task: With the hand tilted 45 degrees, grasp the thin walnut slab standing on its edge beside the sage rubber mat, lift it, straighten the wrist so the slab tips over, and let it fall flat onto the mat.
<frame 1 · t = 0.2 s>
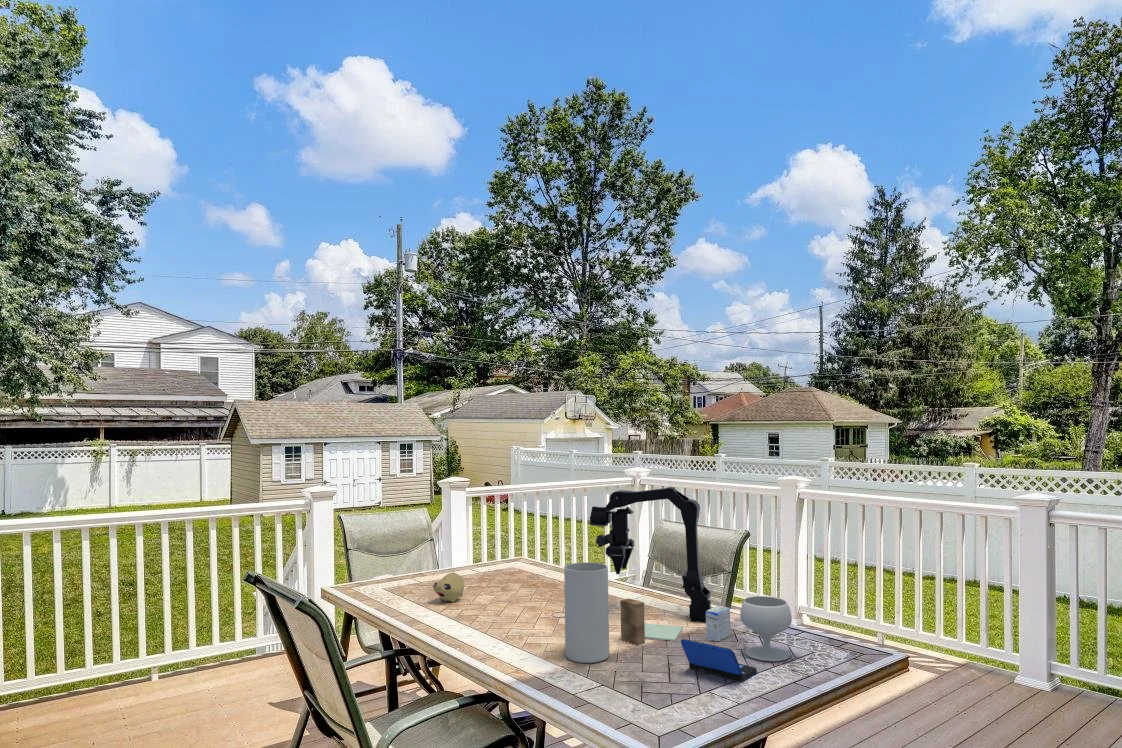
hand: (620, 571, 235), 14 cm above the table, tool pointing down, fingers open, 9 cm apart
cylinder vase: (587, 657, 189), on the table
chalice: (767, 656, 188), on the table
olive toy creature: (448, 602, 252), on the table
medicine box: (718, 638, 205), on the table
mat: (653, 632, 211), on the table
walnut slab: (633, 641, 202), on the table
handheld game console: (719, 674, 175), on the table
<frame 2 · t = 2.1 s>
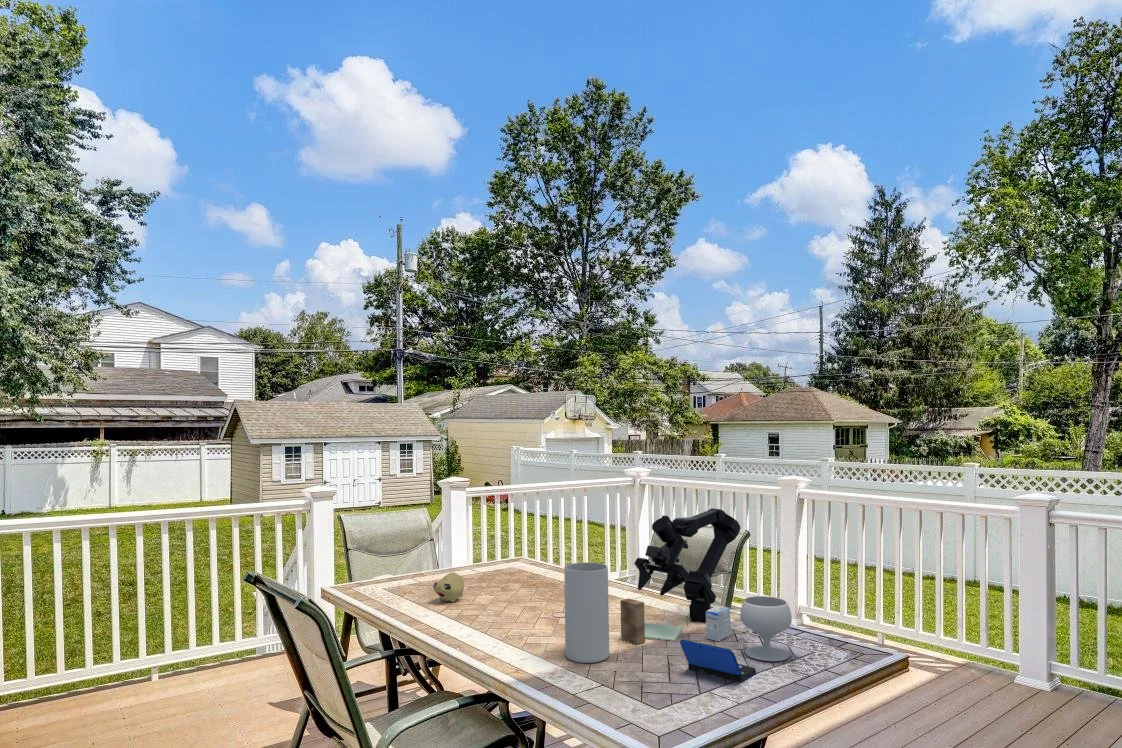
hand: (649, 592, 209), 13 cm above the table, tool tilted 45°, fingers open, 9 cm apart
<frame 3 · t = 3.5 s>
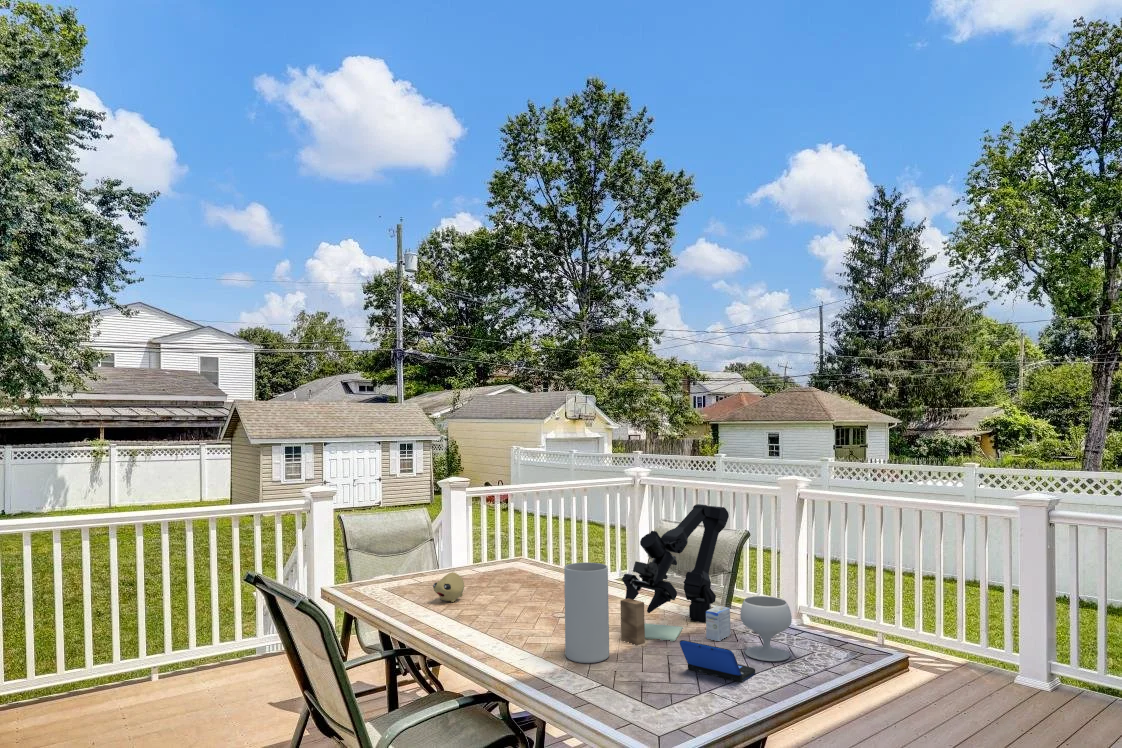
hand: (636, 609, 204), 9 cm above the table, tool tilted 45°, fingers open, 9 cm apart
nothing on the table moved.
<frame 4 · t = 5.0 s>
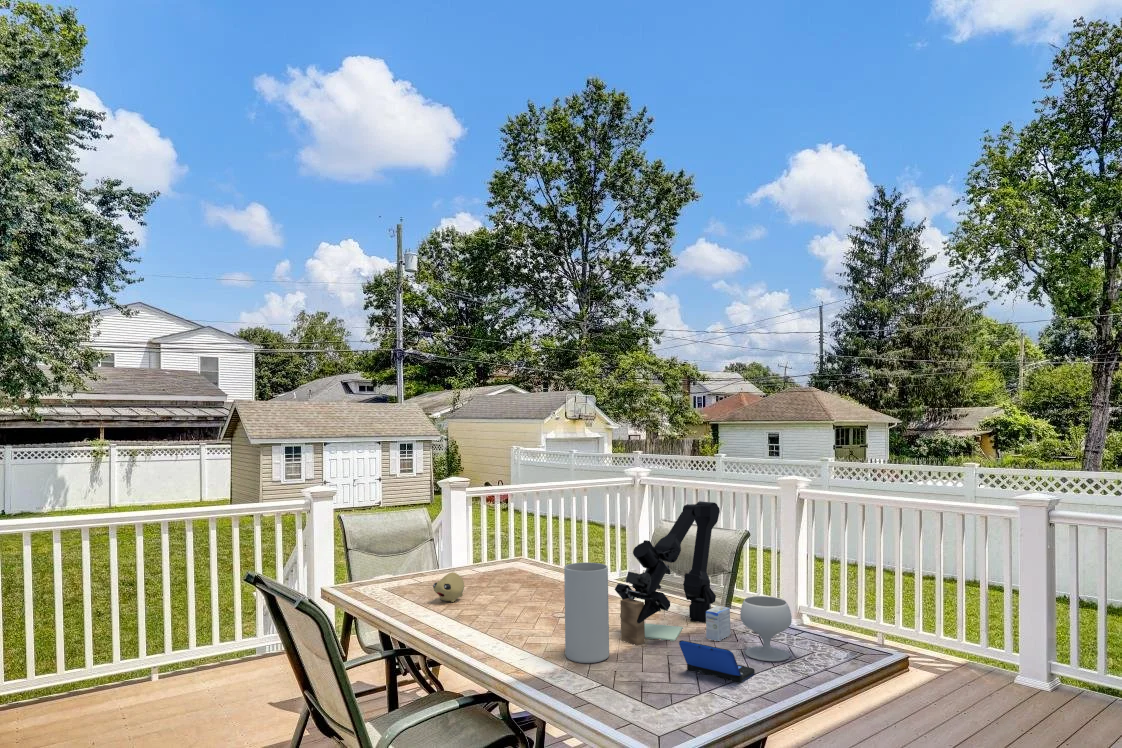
hand: (629, 620, 202), 7 cm above the table, tool tilted 45°, fingers closed on walnut slab, 6 cm apart
walnut slab: (632, 641, 202), on the table, touching gripper
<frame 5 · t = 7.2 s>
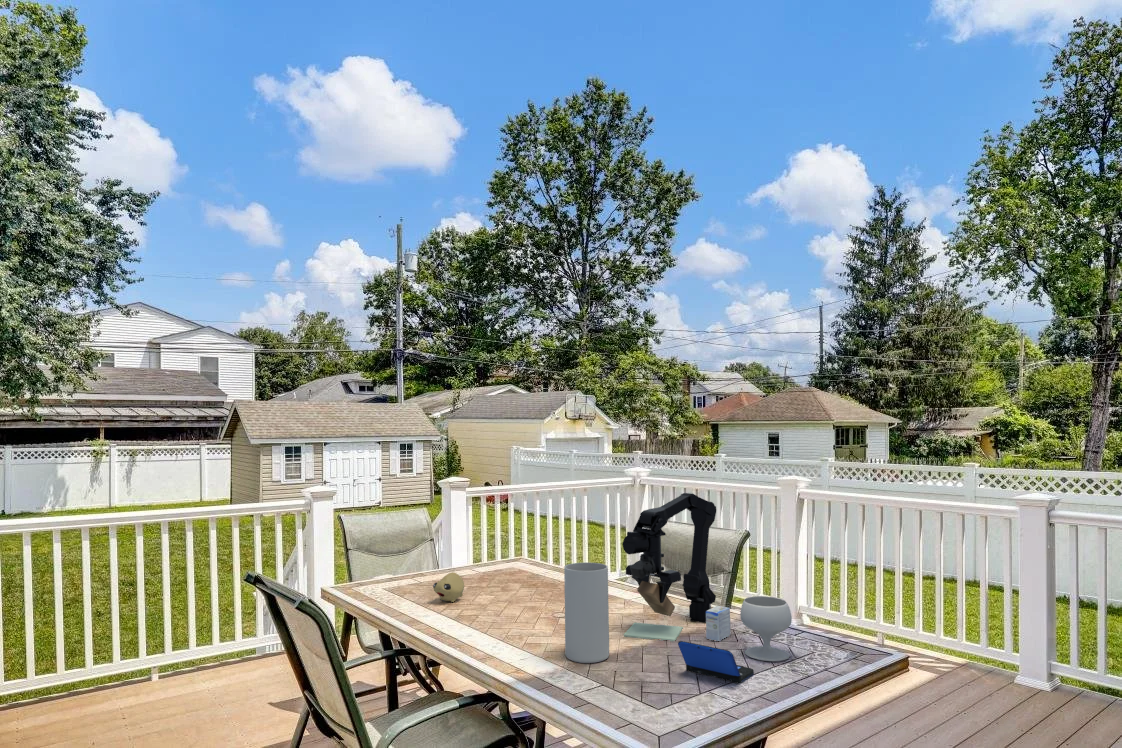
hand: (653, 600, 212), 10 cm above the table, tool pointing down, fingers closed on walnut slab, 6 cm apart
walnut slab: (665, 609, 215), point 6 cm above the table, tilted 45°, touching gripper
when the fingers open (6 cm above the table, at t = 8.2 s): walnut slab moves 1 cm and tips over, resting on mat.
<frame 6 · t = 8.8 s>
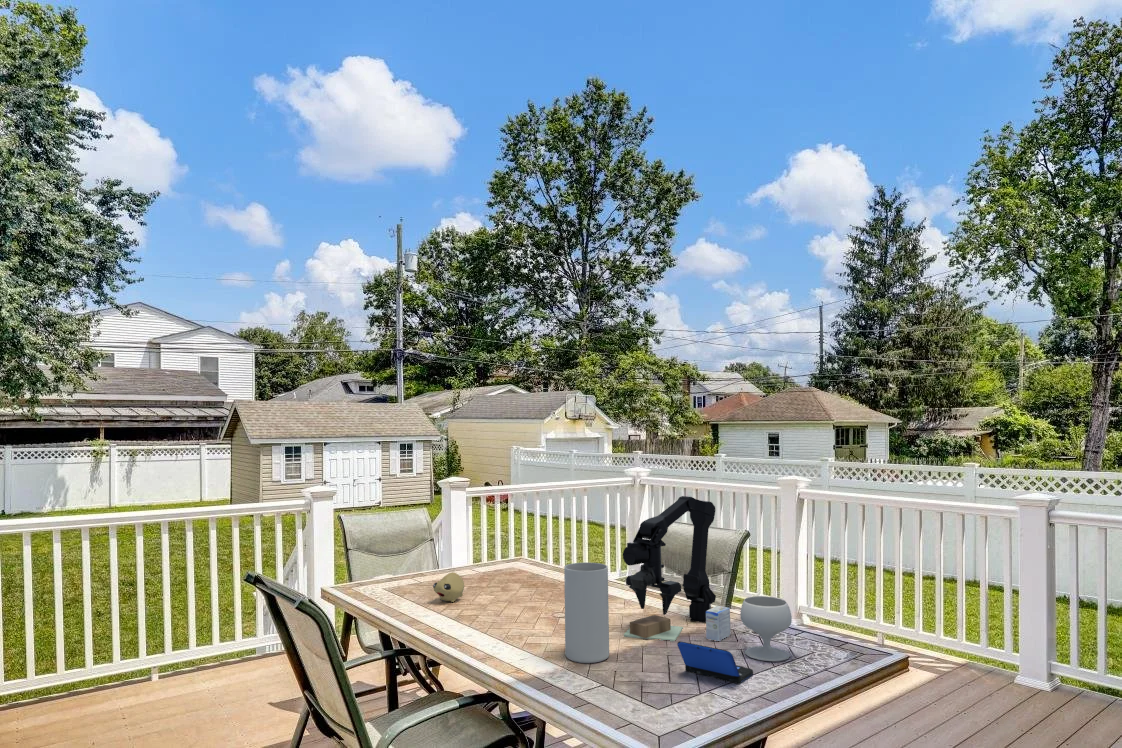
hand: (653, 611, 211), 6 cm above the table, tool pointing down, fingers open, 9 cm apart
walnut slab: (662, 622, 214), point 2 cm above the table, tilted 90°, touching mat
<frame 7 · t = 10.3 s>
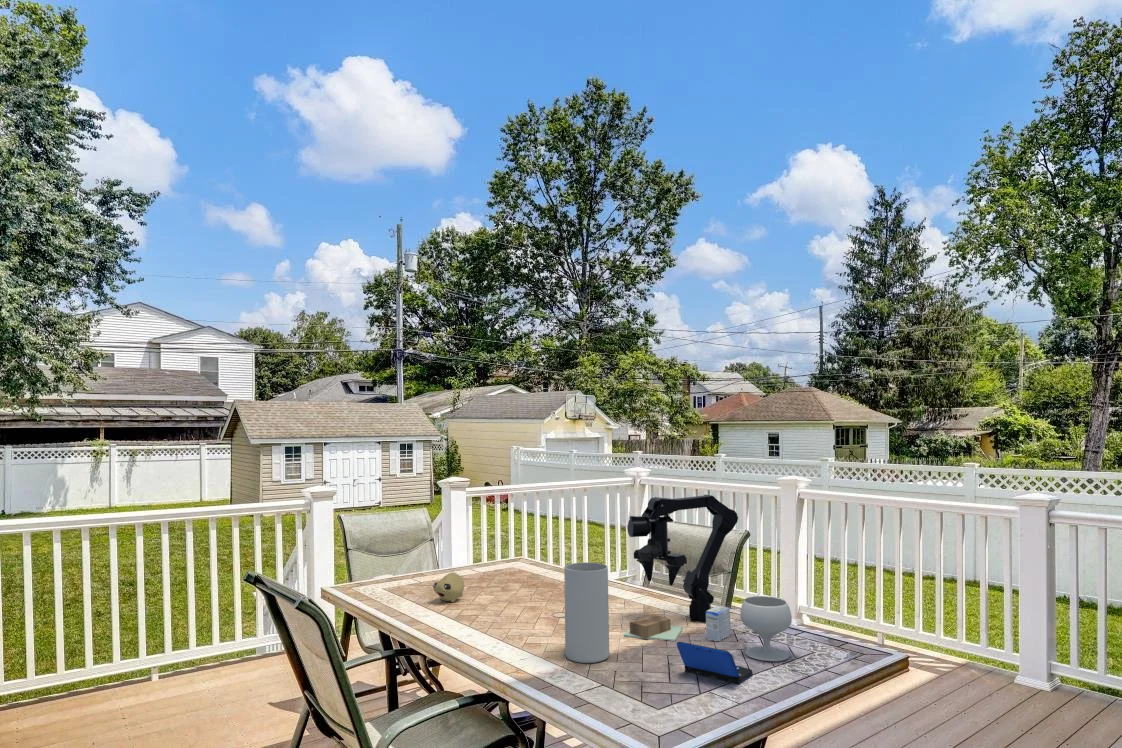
hand: (660, 583, 222), 13 cm above the table, tool pointing down, fingers open, 9 cm apart
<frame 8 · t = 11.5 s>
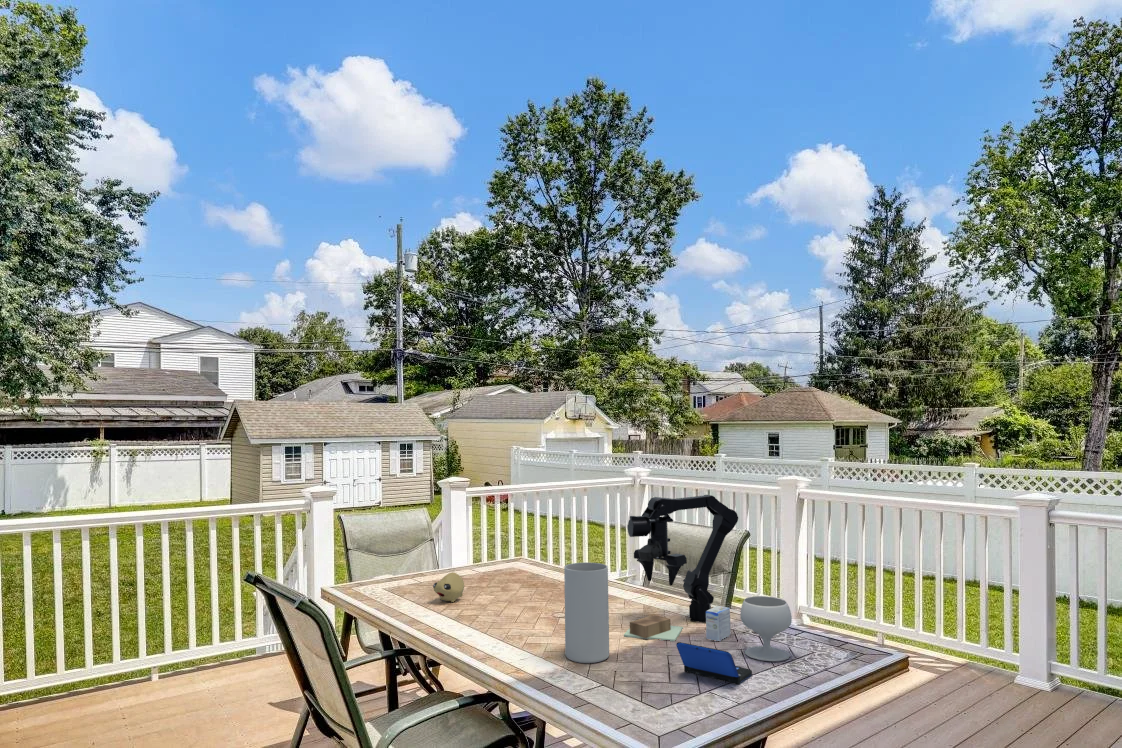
hand: (660, 583, 222), 13 cm above the table, tool pointing down, fingers open, 9 cm apart
at the end: walnut slab tilted 90°; walnut slab inside the target area (3.9 cm from its centre), point 2.3 cm above the table; the gripper is holding nothing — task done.
